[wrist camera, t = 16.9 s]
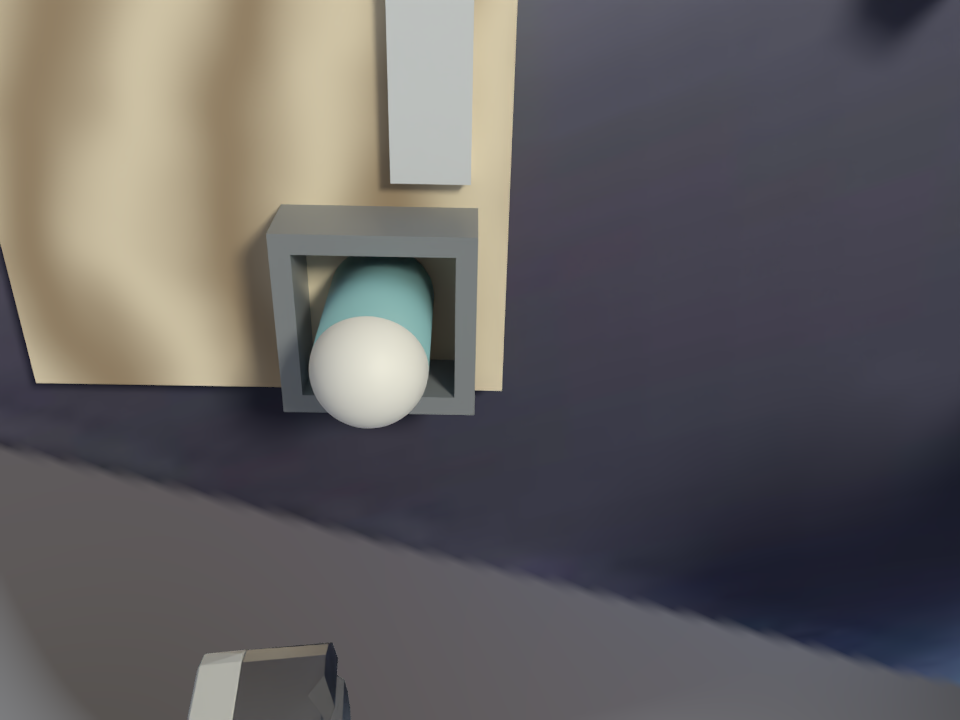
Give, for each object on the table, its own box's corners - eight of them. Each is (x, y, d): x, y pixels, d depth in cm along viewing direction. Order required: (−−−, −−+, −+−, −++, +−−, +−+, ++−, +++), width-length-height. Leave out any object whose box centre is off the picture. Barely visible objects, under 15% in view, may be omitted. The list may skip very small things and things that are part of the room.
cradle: (478, 208, 36) (478, 238, 33) (474, 376, 39) (474, 414, 37) (281, 204, 36) (265, 233, 33) (296, 373, 39) (283, 412, 37)
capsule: (432, 246, 36) (424, 346, 30) (435, 339, 39) (428, 452, 32) (326, 246, 36) (294, 347, 30) (334, 339, 38) (305, 452, 32)
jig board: (520, -136, 31) (522, -134, 30) (501, 373, 41) (501, 390, 40) (-76, -151, 31) (-101, -150, 30) (50, 365, 41) (35, 382, 39)
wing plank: (384, -120, 30) (382, -119, 29) (476, -118, 30) (476, -117, 29) (392, 176, 35) (390, 183, 34) (470, 177, 35) (470, 184, 34)
